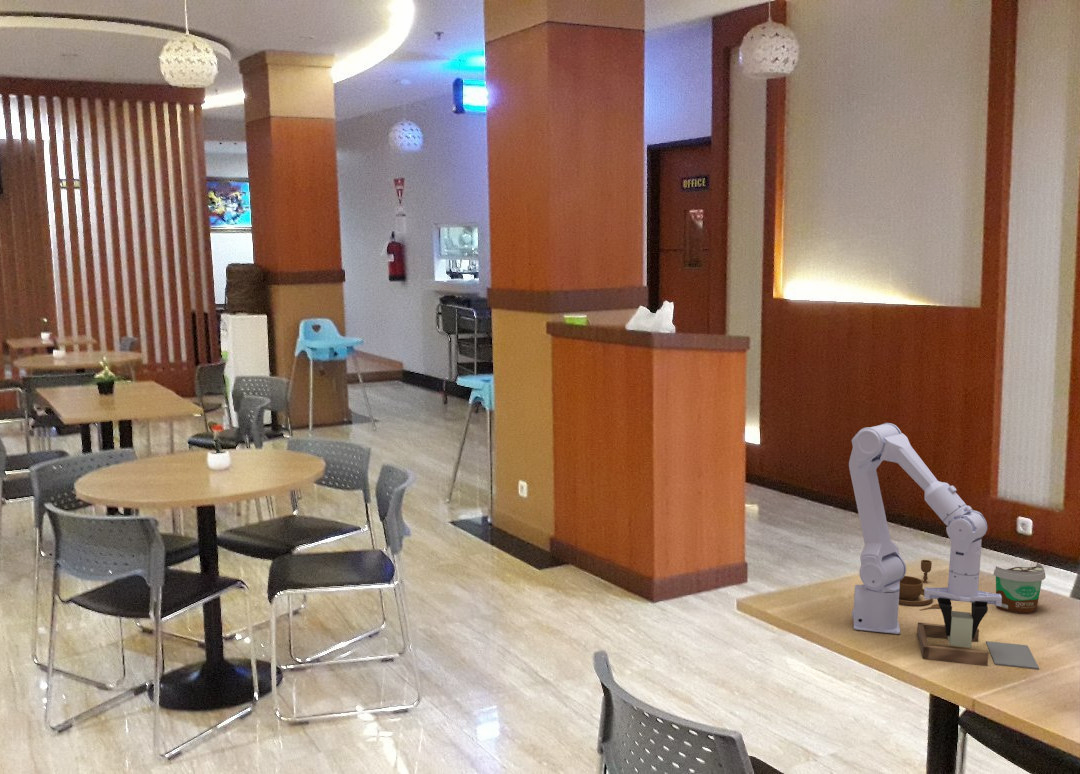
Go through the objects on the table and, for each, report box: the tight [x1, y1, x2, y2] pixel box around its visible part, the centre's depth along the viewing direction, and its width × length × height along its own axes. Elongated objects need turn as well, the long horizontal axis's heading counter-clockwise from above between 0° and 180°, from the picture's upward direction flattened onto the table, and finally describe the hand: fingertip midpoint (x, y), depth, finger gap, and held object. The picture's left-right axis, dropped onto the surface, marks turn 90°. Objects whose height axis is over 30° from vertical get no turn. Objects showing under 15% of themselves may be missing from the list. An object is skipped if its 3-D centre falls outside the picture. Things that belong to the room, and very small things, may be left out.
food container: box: [992, 562, 1046, 615], centre depth 233 cm, size 12×6×10 cm, turn 105°
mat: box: [985, 640, 1040, 670], centre depth 208 cm, size 8×12×1 cm, turn 165°
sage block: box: [947, 610, 973, 649], centre depth 210 cm, size 4×4×6 cm
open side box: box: [916, 622, 989, 666], centre depth 211 cm, size 12×14×2 cm
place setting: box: [899, 559, 940, 611], centre depth 243 cm, size 18×20×6 cm
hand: (959, 635), depth 210 cm, fingers closed on sage block, 4 cm apart
